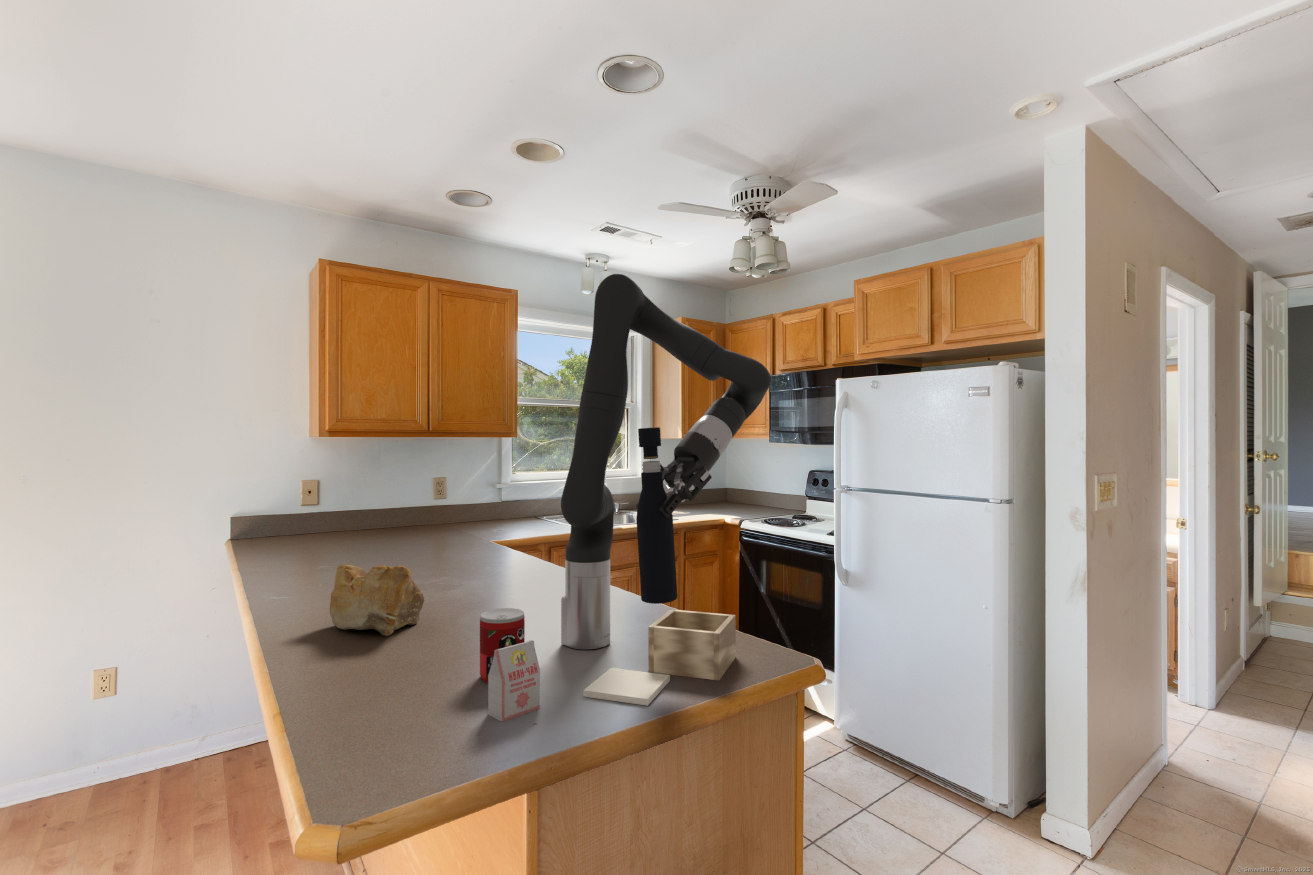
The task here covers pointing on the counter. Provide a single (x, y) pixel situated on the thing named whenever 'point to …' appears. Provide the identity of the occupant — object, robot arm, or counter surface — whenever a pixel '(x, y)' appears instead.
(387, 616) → the rough brown rock
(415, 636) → the counter surface
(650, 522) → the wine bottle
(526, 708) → the white paper bag
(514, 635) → the canned food
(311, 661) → the counter surface
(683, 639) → the pine crate
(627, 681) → the cream tile
